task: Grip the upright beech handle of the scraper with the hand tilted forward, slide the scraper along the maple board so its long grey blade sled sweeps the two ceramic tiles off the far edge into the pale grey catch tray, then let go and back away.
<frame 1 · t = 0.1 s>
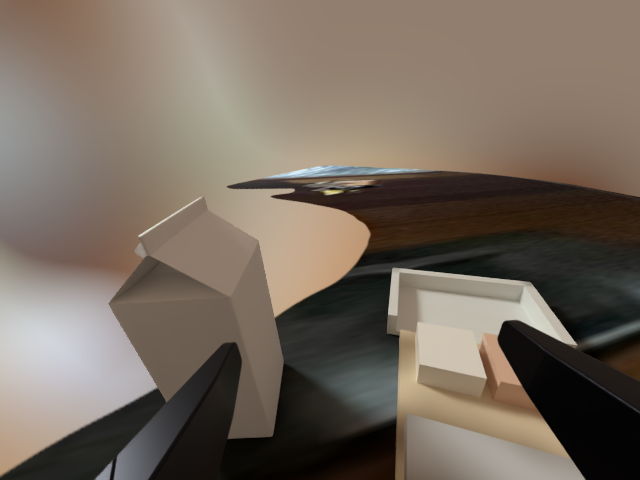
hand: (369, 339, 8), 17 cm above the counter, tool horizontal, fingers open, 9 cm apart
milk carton: (243, 398, 23), on the counter
tile a: (443, 364, 23), point 1 cm above the counter, touching board
board: (499, 476, 17), on the counter
tile b: (517, 380, 21), point 1 cm above the counter, touching board
tray: (458, 316, 30), on the counter
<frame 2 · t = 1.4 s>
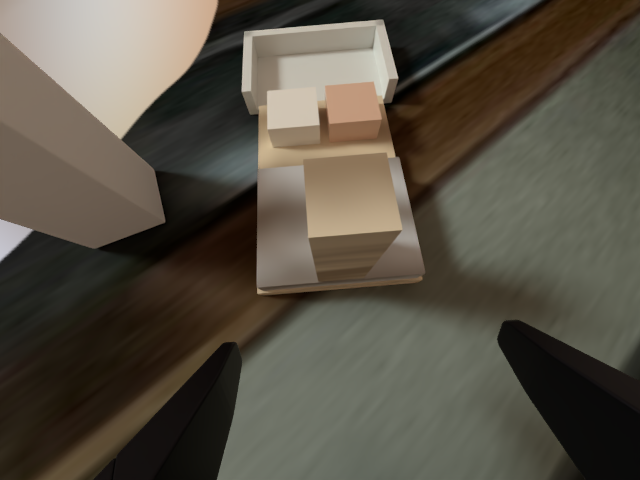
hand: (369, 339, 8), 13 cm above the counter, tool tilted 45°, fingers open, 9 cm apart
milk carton: (128, 208, 25), on the counter
tile a: (295, 127, 26), point 1 cm above the counter, touching board
board: (328, 188, 25), on the counter
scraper: (337, 263, 21), point 1 cm above the counter, touching board
tile b: (350, 122, 26), point 1 cm above the counter, touching board
tray: (317, 78, 30), on the counter
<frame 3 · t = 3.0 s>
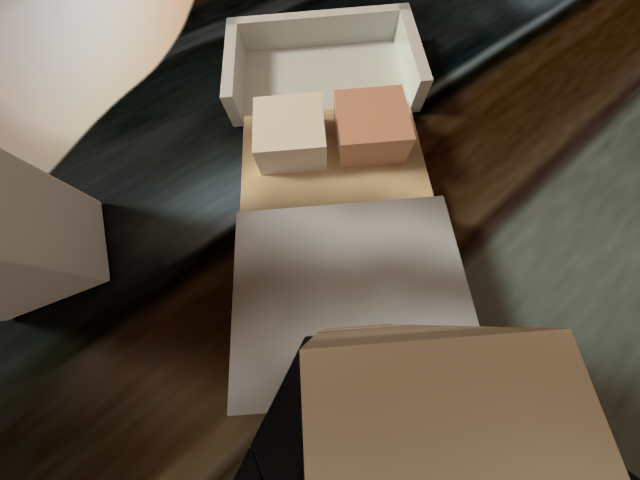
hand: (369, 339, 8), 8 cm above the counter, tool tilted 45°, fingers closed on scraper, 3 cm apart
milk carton: (63, 257, 18), on the counter
tile a: (292, 145, 19), point 1 cm above the counter, touching board
board: (338, 231, 18), on the counter
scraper: (353, 358, 14), point 1 cm above the counter, touching board, gripper
tile b: (367, 139, 19), point 1 cm above the counter, touching board
tray: (322, 79, 23), on the counter
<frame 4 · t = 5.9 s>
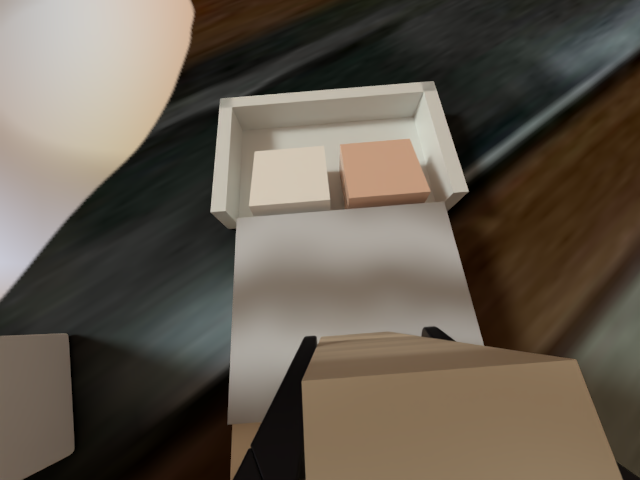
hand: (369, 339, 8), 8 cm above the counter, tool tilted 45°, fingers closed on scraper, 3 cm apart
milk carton: (20, 410, 15), on the counter
tile a: (294, 198, 18), point 1 cm above the counter, tilted 11°, touching board, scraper, tray
board: (354, 381, 15), on the counter
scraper: (354, 364, 14), point 2 cm above the counter, touching gripper, tile a, tile b
tile b: (375, 191, 18), point 1 cm above the counter, tilted 11°, touching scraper
tray: (331, 166, 20), on the counter
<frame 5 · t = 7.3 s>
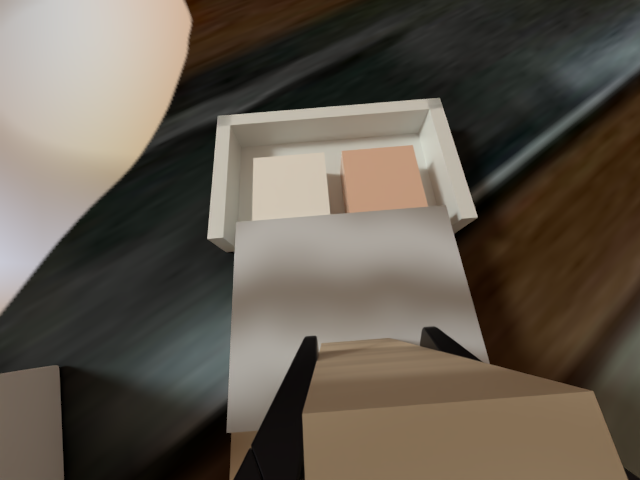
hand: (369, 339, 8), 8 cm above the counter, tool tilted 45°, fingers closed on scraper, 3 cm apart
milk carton: (8, 448, 14), on the counter
tile a: (294, 203, 18), point 1 cm above the counter, touching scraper, tray
board: (357, 417, 14), on the counter
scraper: (355, 370, 14), point 2 cm above the counter, touching board, gripper, tile a, tile b
tile b: (375, 197, 18), point 1 cm above the counter, touching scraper, tray
tray: (333, 185, 19), on the counter
when the fingers open (8 cm above the counter, at t = 8.0 s): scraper stays where it is, resting on board.
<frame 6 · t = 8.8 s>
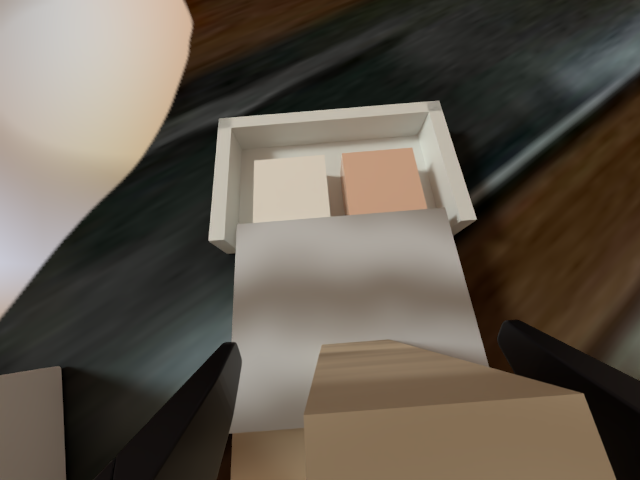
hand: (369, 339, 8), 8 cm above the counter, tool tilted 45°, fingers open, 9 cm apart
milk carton: (10, 448, 14), on the counter
tile a: (295, 205, 18), point 1 cm above the counter, touching tray
board: (358, 418, 14), on the counter
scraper: (355, 372, 14), point 1 cm above the counter, touching board
tile b: (375, 199, 18), point 1 cm above the counter, touching tray
tray: (333, 187, 19), on the counter
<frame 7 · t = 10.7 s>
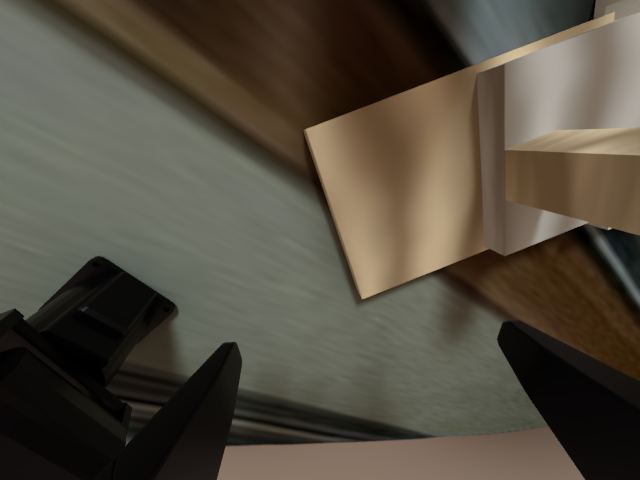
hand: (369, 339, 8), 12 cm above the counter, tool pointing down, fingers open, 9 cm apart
board: (455, 174, 19), on the counter
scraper: (503, 164, 18), point 1 cm above the counter, touching board
tray: (635, 104, 19), on the counter
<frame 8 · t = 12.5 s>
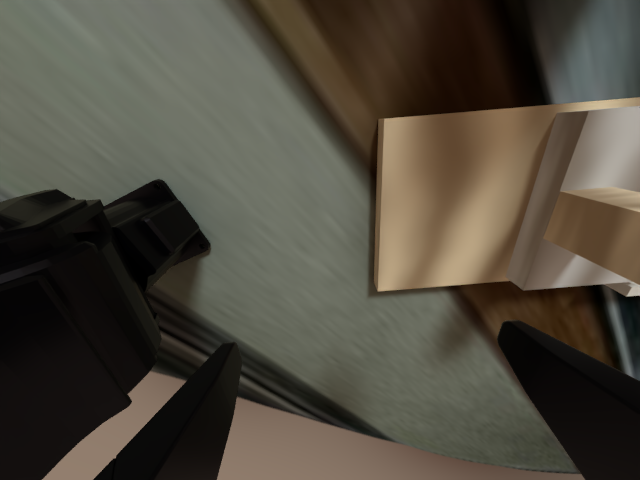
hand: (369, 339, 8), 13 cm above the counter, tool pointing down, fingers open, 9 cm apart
board: (501, 202, 20), on the counter
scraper: (550, 205, 18), point 1 cm above the counter, touching board
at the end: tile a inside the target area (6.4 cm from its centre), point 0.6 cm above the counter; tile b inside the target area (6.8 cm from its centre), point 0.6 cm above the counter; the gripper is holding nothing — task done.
